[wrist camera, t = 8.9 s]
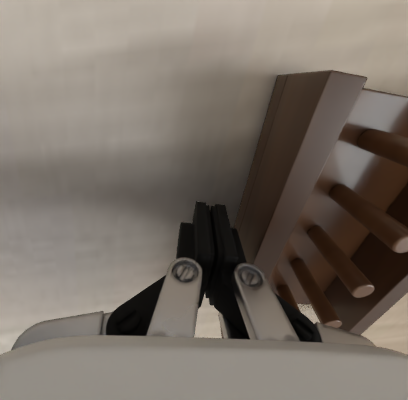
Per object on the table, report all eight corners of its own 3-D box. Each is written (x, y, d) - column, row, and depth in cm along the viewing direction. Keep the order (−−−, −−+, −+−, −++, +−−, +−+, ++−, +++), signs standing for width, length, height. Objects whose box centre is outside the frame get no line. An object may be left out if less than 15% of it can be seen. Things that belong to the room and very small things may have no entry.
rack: (216, 286, 17) (224, 363, 13) (277, 74, 9) (365, 66, 4) (320, 292, 18) (363, 365, 14) (456, 108, 10) (680, 130, 6)
